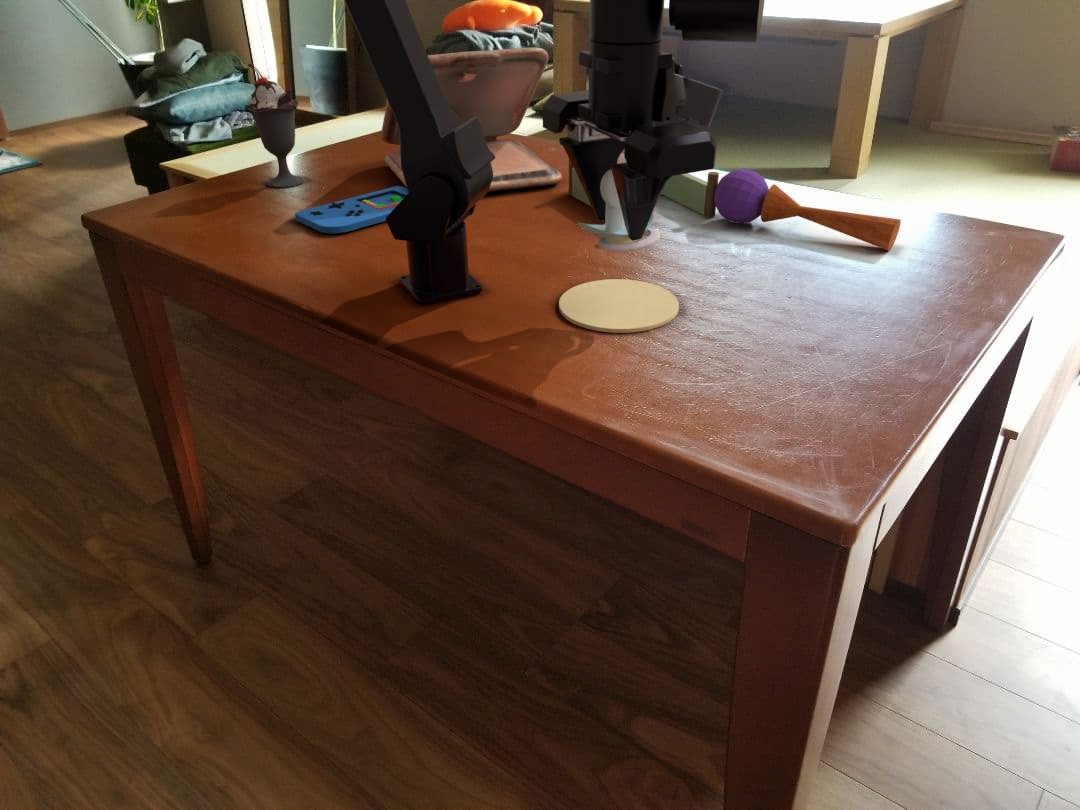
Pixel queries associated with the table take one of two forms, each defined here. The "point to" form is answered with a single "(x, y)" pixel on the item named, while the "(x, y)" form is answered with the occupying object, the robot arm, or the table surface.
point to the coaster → (618, 305)
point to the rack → (669, 191)
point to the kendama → (794, 209)
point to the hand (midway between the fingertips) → (619, 229)
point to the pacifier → (617, 223)
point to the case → (489, 109)
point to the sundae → (275, 125)
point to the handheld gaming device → (353, 211)
